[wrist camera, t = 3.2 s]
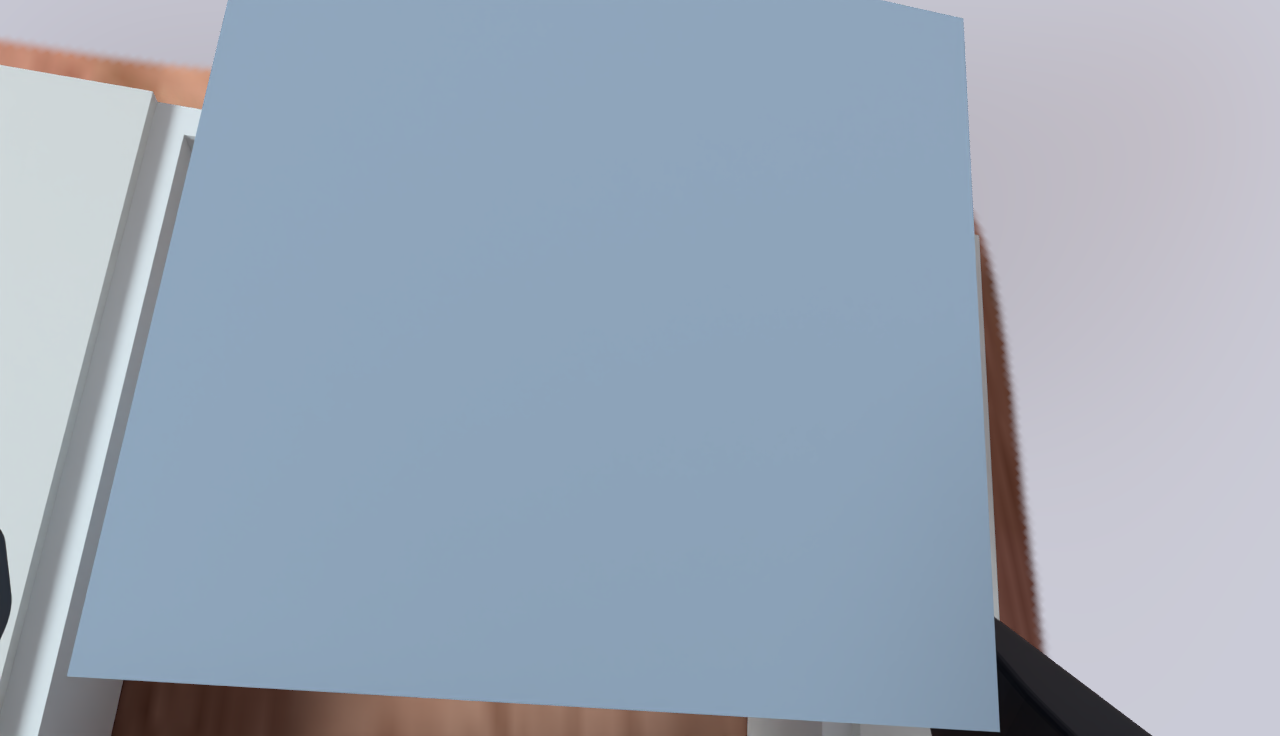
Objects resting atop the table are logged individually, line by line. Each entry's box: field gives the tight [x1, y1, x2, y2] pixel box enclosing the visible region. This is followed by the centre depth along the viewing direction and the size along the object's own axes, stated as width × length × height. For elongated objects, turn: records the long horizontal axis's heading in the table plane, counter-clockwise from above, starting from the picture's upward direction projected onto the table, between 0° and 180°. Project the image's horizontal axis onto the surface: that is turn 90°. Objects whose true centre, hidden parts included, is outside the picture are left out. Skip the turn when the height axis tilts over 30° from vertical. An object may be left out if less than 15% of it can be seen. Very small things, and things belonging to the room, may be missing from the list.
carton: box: [0, 65, 1000, 736], centre depth 16 cm, size 14×17×4 cm
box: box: [67, 0, 1000, 732], centre depth 12 cm, size 5×5×13 cm
